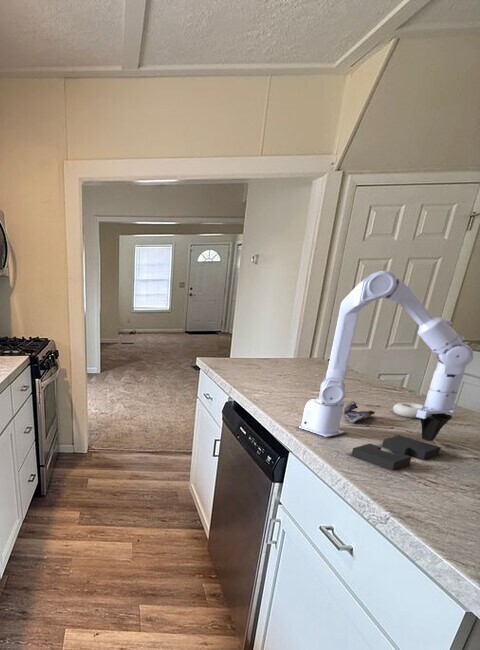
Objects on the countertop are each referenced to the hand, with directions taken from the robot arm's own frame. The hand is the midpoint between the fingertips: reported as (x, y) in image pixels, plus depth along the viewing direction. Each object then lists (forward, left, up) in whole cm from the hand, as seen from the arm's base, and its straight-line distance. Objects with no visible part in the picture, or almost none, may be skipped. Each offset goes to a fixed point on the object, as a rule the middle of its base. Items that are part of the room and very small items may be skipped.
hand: (427, 439), depth 108 cm
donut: (-17, +25, -2) cm, 30 cm away
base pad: (0, -21, -2) cm, 21 cm away
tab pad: (0, -8, -2) cm, 8 cm away
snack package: (-23, +6, -2) cm, 24 cm away
